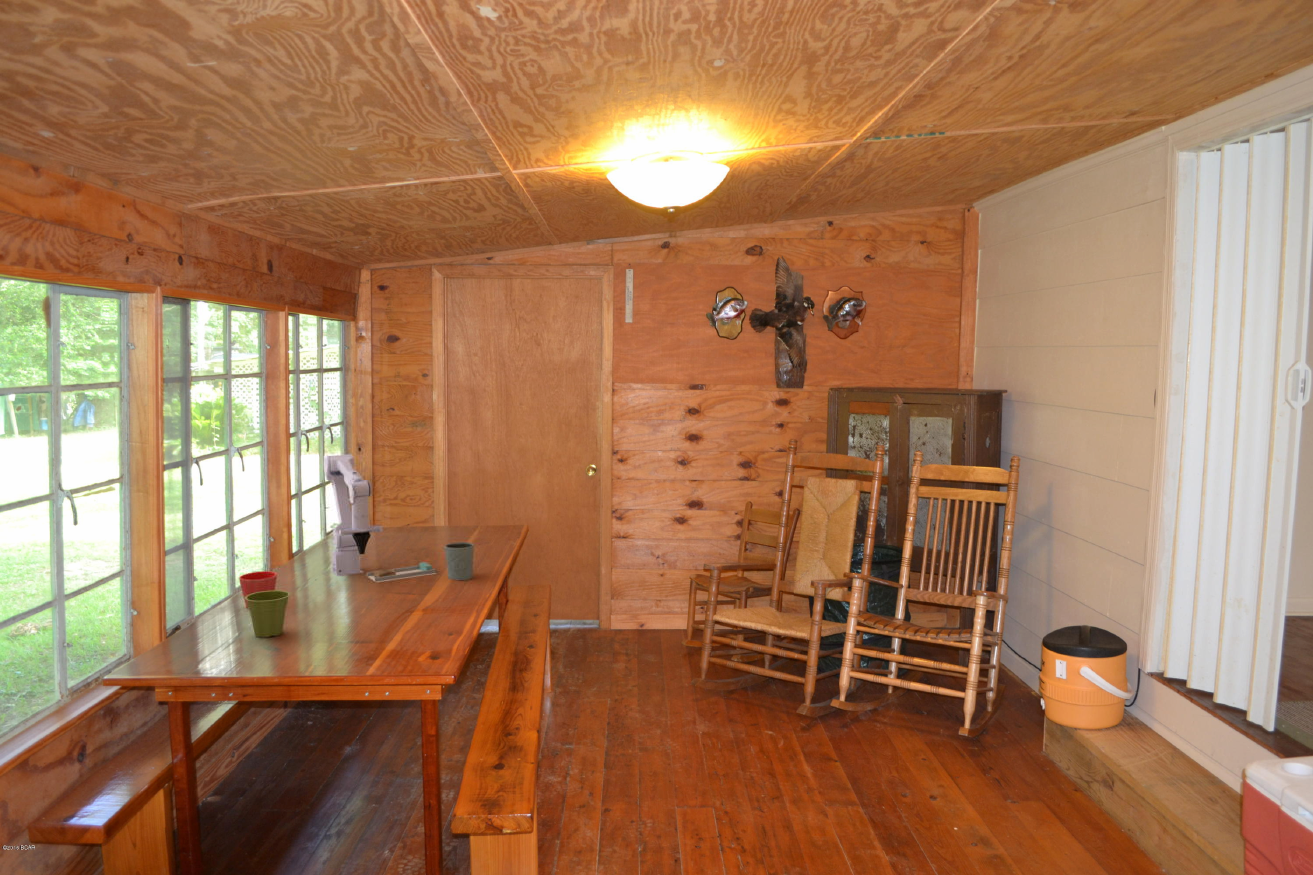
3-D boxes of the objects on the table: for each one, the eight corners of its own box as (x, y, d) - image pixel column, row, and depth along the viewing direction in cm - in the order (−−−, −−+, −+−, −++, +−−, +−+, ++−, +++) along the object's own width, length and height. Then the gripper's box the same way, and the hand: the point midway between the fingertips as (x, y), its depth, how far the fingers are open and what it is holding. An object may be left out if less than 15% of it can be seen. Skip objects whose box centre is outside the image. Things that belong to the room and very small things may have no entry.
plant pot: (289, 638, 246) (287, 599, 245) (243, 642, 243) (241, 602, 242) (293, 626, 258) (292, 588, 257) (249, 629, 254) (248, 591, 253)
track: (376, 583, 306) (376, 575, 306) (365, 576, 316) (365, 568, 315) (436, 574, 319) (436, 566, 319) (424, 568, 329) (424, 560, 328)
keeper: (378, 579, 310) (378, 573, 310) (374, 576, 314) (374, 570, 314) (395, 576, 313) (395, 571, 313) (390, 574, 318) (390, 568, 317)
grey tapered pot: (467, 582, 308) (466, 548, 307) (440, 580, 310) (439, 547, 309) (478, 575, 318) (478, 542, 317) (452, 573, 320) (452, 541, 319)
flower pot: (260, 611, 273) (258, 580, 272) (232, 607, 276) (231, 577, 275) (285, 602, 282) (284, 572, 282) (258, 599, 286) (257, 570, 285)
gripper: (342, 519, 300) (344, 558, 301) (385, 515, 308) (386, 553, 309) (336, 516, 305) (338, 554, 307) (378, 512, 314) (379, 549, 315)
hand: (361, 553), depth 308 cm, fingers closed
